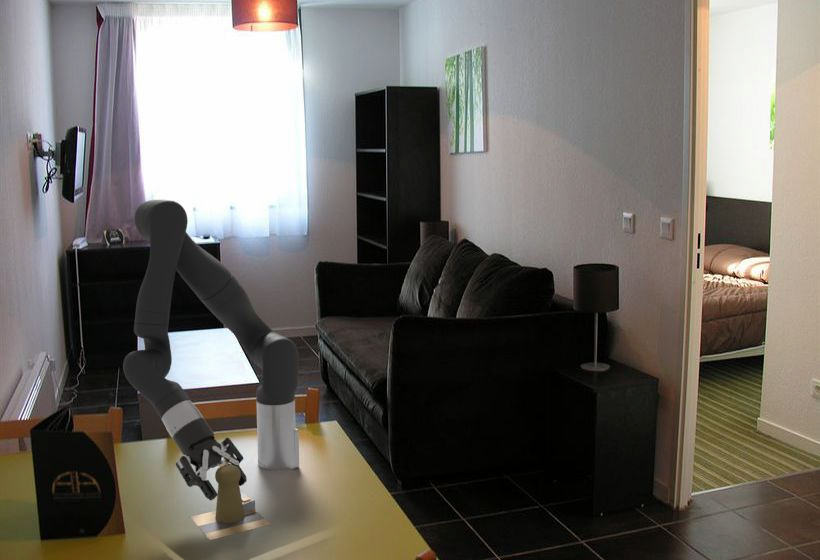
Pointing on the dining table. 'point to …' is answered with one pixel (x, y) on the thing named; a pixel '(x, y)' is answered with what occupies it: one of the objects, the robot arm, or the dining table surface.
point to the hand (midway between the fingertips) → (229, 490)
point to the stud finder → (247, 503)
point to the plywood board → (228, 524)
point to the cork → (228, 495)
